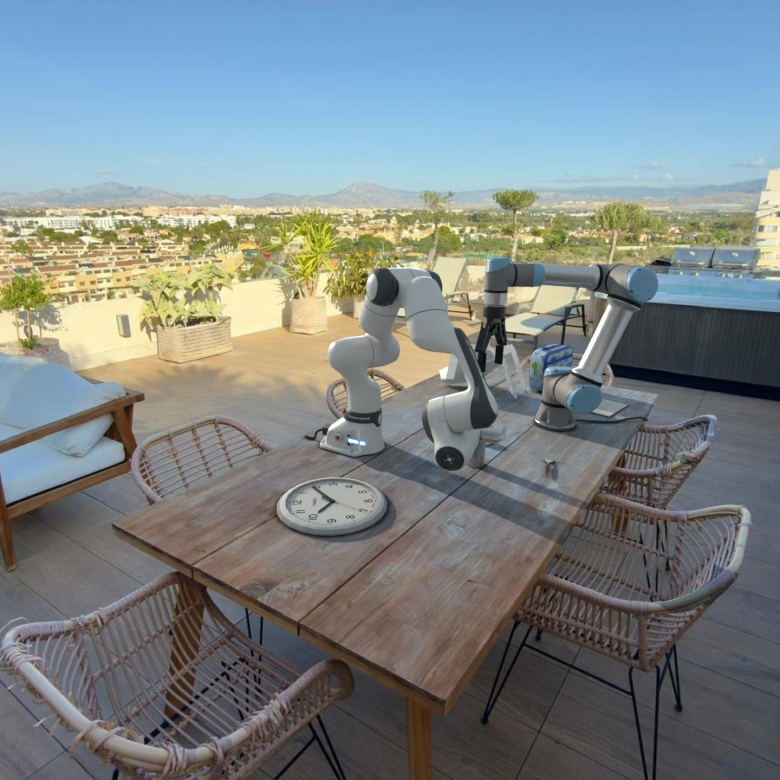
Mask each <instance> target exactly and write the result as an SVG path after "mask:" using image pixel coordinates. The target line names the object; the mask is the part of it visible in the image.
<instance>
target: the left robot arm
mask: <svg viewBox="0 0 780 780" xmlns="http://www.w3.org/2000/svg"><path fill="white" fill-rule="evenodd" d="M365 282H366V283H365V293H366V294H365V296H364V299H363V302H362V305H361V308H360V312H359V315H358V325H359V327H360V329H361V330H362V331H363V332H364V333H365V334H363V335H357V336H348V337H343V338H340V339H337V340H335V341H332V342H331V343H330V344H329V346H328V349H327V351H326V352H327V353H326V356H327V357H326V359H327V362H328V363H329V365H330V367H331V368H332V369H333V370H334V371H335V372H337V373H339V374H340V376H341V377H342V378H343V380H344V382H345V385H346V392H347V404H346V405H345V407H344V408H342V410H341V411H340V412H341V413H340V414H341V415H343V416H342V417H340V418H339V419H337V420H336V421H335V422H333V423H332V424H331V423H326V424H325V425H324V426H322V428H319V429H317V430H315V432H314V435H313V436H311V435H306V434H305V435H304V438H305V439H309V440H315V439H316V438H317V437H318V433H319V432H321V433H322V436H324V437H323V438H322V439H321V440H320V443H319V447H320V449H324V450H327V451H331V452H335V453H338V454H342V455H345V456H348V457H353V458H355V457H360V456H361V457H362V456H365V455H366V456H367V455H372V454H373V455H374V454H377V453H380V452H381V451H383V450H384V449H385V447H386V445H385V441H384V436H383V431H382V422H383V411H382V410H383V408H382V407H381V405H382V404H381V402H382V401H381V400H382V395H381V394H382V388H381V386H380V384H379V383H378V382H377V381H376V380H375V379H373V378H371V377H369V375H368V369H369V370H370V369H374V368H381V367H385V366H388V365H391V364H393V363H395V362H396V361H398V359H399V357H400V354H401V346H400V342H399V341H398V339H397V338H396V336H394V334H393V328H394V325H395V322H396V319H397V317H398V314H399V312H400V309H404V317H405V324H406V328H407V333H408V336H409V338H410V341H411V342H412V343H413V344H414V345H415V346H416V347H417V348H419V349H420V350H423V351H426V352H432V353H439V354H449V355H451V354H452V355H455V356H456V357H457V359H458V361H459V363H460V366H461V368H462V371H463V373H464V376H465V378H466V381H467V383H466V384H467V389H465V390H462V391H459V392H455V393H450V394H445V395H442V396H437V397H434V398H431V399H429V400H427V401H426V403H425V405H424V407H423V410H422V413H421V423H422V428H423V430H424V433H425V435H426V436H427V438H428V439H429V441H430V442H431V443H432V444H434V453H433V454H434V455H433V456H434V460H435V462H436V465H438V467H440V468H441V469H443V470H446V471H449V472H456V471H460V470H462V469H463V468H464V467H466V465H468V463H470V459H471V457H472V455H473V453H474V450H475V449H476V447H477V445H478V443H479V441H480V442H486V443H491V444H499V443H501V442H503V441H504V439H505V437H506V432H507V431H506V430H507V425H506V424H505V423H503V422H495V421H496V420H497V418H498V416H499V407H498V403H497V400H496V398H495V397H494V395H493V393H492V391H491V388H490V386H489V385H488V383H487V380H486V378H485V377H484V375H483V373H482V370H481V368H480V365H479V363H478V360H477V358H476V355H475V353H474V351H473V348H472V347H473V346H472V344H471V342H470V340H469V338H468V336H467V334H466V333H465V331H464V330H462V328H460V327H457V326H455V325H454V324H453V323H452V321H451V319H450V317H449V312H448V308H447V304H446V301H445V298H444V294H443V282H442V279H441V276H440V275H439V274H438V273H437V272H435V271H433V270H429V269H420V268H414V267H408V266H407V267H387V266H383V267H377V268H374V269H372V270H371V271H370V272H369V274H368V275H367V278H366V281H365Z"/></svg>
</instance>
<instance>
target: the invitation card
mask: <svg viewBox="0 0 780 780" xmlns="http://www.w3.org/2000/svg"><path fill="white" fill-rule="evenodd" d="M628 406H629V404H627V403H623V402H618V401H614V400H609V399H605V398H602V401H601V403H600V405H599V406H598V408H597V409H595V410H594V411H593V412H591V413H593V414H596V415H600V416H604V417H608V418H609V417H611V416H613V415H614V414H616V413H617V412H619V411H621V410H623V409H624V408H626V407H628Z"/></svg>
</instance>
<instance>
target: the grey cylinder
mask: <svg viewBox="0 0 780 780" xmlns="http://www.w3.org/2000/svg"><path fill="white" fill-rule="evenodd" d="M486 446H487V445H486V442H480V441H479V443H478V445H477V447H476V449H475V450H474V453H473V455H472V457H471V459H470V461H469V462H468V463H469V466H470V467H472V468H476V469H481V468H483V467H485V460H486V459H485V458H486Z"/></svg>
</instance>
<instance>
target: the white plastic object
mask: <svg viewBox="0 0 780 780" xmlns="http://www.w3.org/2000/svg"><path fill="white" fill-rule="evenodd" d="M475 347H476V345H473V346H472V348H473V351H474V353H475V355H476V358H477V360H478V352H475ZM495 350H496V349H493V348H492V347H491V346H490V343H489V344H488V347H487V349H486V352H485V353H487V356H486V369H485V372H482V373H483V375H484V378H485V377H486V376H487V375H489V374H490V373H492V372H494V371H495V370H496V369H497V368H499V367H500V366H502V370H503V373H504V376H505V380H506V383H507V386H508V390H509V393H510V394H511V395H512V397H513V398H514V399H515V400H517V392H516V391H517V390H516V388H515V385H514V381H513V378H512V375H511V371H510V369H509V365H508V361H510V360H513V363H514V366H515V369H516V372H517V376H518V380H519V382H520V385H521V389H522V391H523V393H524V395H525V396H526V397H528V396H531V395H530V390H529V388H528V387H529V386H528V384H527V381H526V378H525V375H524V371H523V369H522V368H523V367H522V366H521V362H520V359H519V355H518V352H517V349H516V347H515V346H514V345H513V343H511V344H508V343H507V346H504V352H503V364H502V365H501V364H496V363H495ZM438 372H439V376H440V381H442V383H443V384H444V385H445V386H449V385H458V384H468V383H467V381H466V378H465V376H464V373H463V371H462V368H461V366H460V363H459V361H458V359H457V357H456V356H455V355H452V354H450V357H449V362H448V366H446V367H444V368H442V369H440V370H439V371H438Z"/></svg>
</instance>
